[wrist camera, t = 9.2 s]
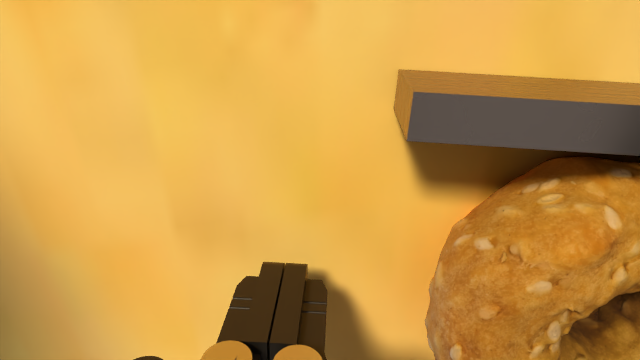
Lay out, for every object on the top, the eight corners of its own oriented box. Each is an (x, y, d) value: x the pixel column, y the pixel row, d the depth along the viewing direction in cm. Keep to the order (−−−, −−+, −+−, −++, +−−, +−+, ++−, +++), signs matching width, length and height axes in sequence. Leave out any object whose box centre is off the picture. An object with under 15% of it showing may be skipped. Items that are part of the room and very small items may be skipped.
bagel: (723, 352, 16) (860, 483, 12) (436, 385, 18) (462, 509, 14) (761, 105, 13) (978, 164, 8) (394, 178, 14) (412, 257, 10)
